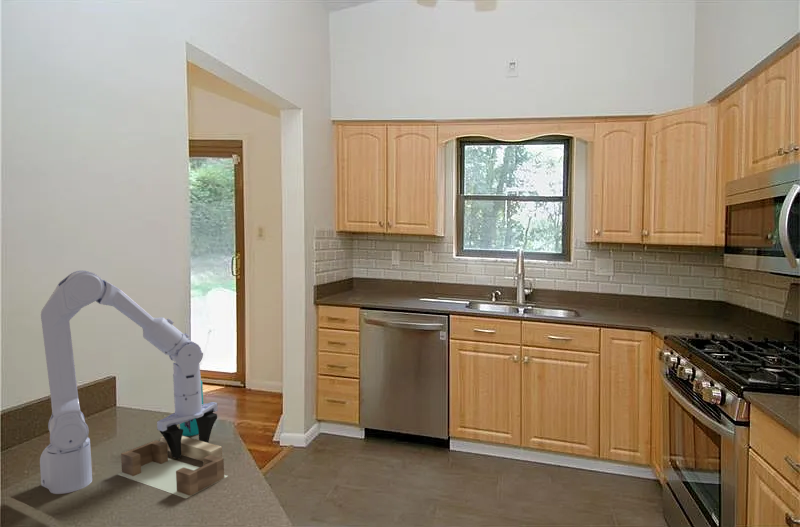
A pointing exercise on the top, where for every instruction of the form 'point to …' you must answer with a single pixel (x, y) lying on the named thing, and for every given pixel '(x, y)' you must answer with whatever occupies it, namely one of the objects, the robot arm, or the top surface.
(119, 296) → the robot arm
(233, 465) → the top surface
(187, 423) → the beverage can
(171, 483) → the base board
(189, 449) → the slat
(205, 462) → the right end cap
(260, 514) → the top surface
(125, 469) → the left end cap
